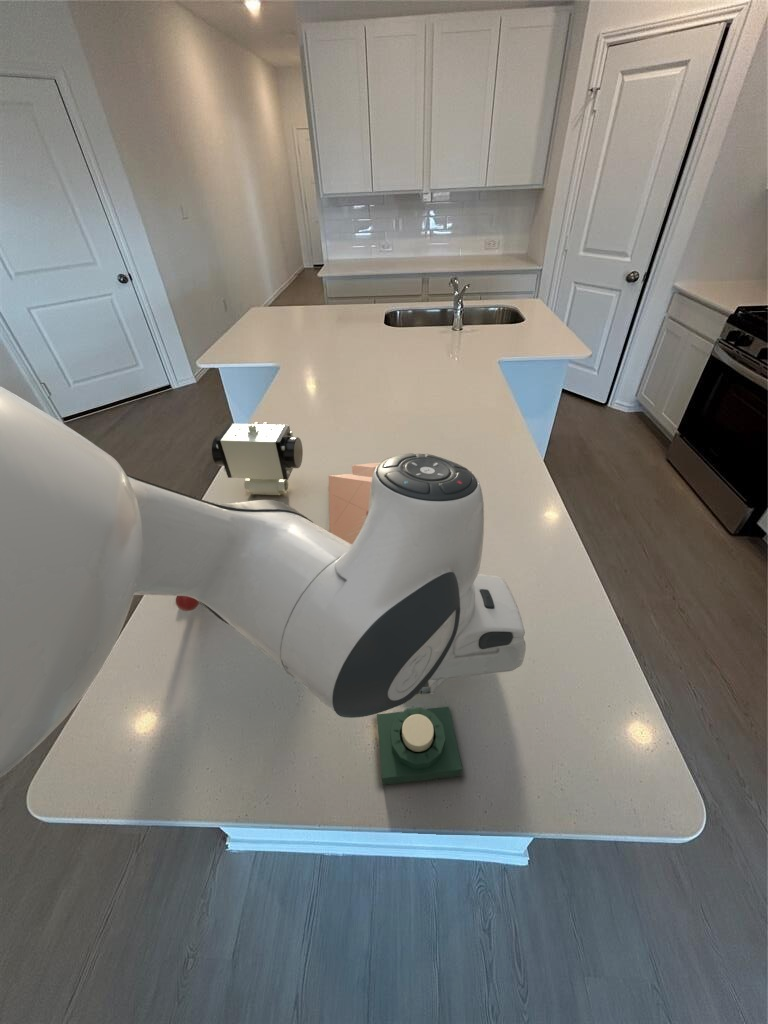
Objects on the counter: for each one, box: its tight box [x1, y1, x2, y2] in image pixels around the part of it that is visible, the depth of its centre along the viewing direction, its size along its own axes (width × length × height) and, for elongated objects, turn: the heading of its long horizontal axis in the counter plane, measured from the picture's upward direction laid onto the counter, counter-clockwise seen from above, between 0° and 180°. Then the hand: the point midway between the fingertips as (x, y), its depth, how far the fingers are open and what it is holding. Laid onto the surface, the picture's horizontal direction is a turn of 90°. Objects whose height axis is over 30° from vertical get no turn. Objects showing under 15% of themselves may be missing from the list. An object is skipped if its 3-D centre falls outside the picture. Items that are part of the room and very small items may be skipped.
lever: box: [175, 596, 200, 612], centre depth 73 cm, size 15×4×4 cm, turn 5°
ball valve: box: [211, 421, 304, 496], centre depth 98 cm, size 18×8×18 cm, turn 84°
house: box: [328, 462, 380, 544], centre depth 92 cm, size 23×33×8 cm
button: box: [402, 714, 434, 752], centre depth 56 cm, size 4×4×2 cm
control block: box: [376, 706, 463, 786], centre depth 57 cm, size 10×8×4 cm
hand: (420, 688), depth 49 cm, fingers closed
